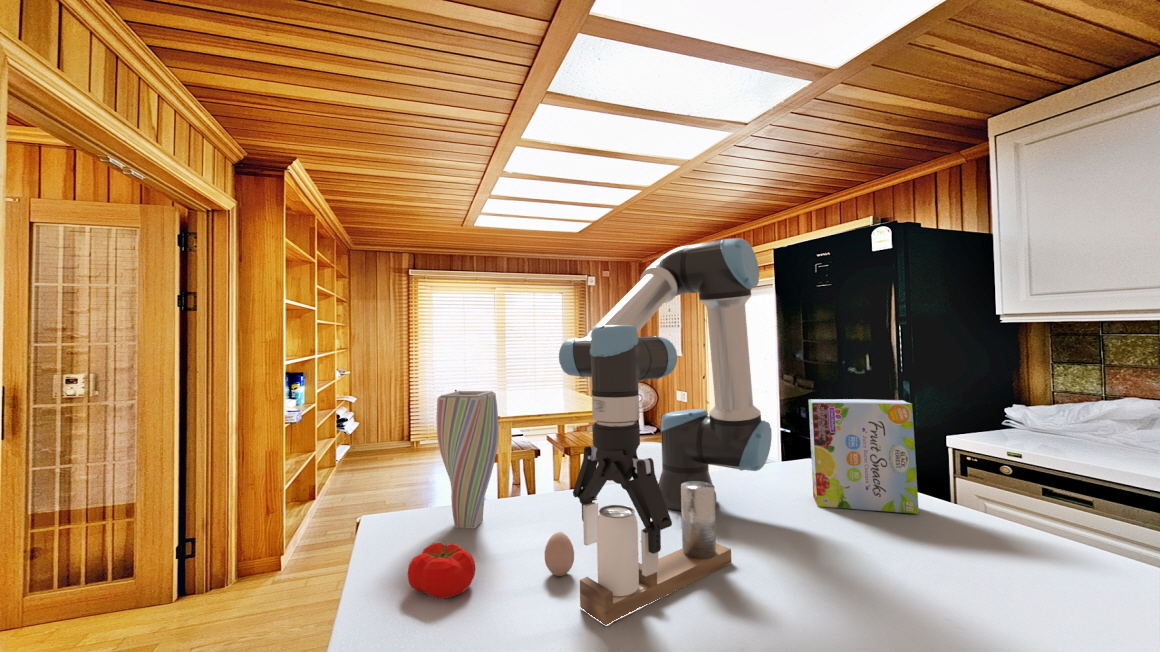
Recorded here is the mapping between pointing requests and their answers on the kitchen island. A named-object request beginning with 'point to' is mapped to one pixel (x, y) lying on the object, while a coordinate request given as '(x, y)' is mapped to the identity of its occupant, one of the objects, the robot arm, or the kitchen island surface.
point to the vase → (468, 449)
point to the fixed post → (698, 520)
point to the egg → (559, 554)
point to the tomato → (441, 570)
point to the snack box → (863, 454)
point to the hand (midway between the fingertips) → (618, 557)
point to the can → (618, 550)
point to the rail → (650, 584)
